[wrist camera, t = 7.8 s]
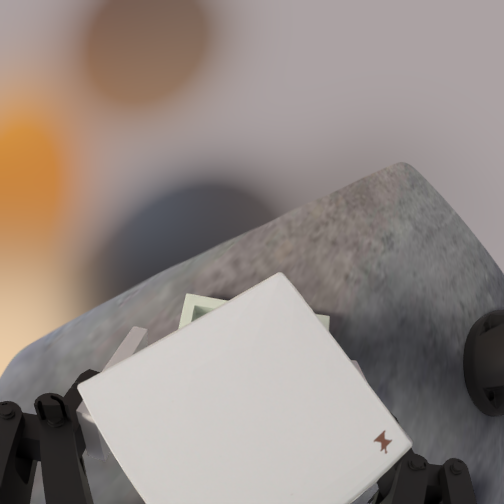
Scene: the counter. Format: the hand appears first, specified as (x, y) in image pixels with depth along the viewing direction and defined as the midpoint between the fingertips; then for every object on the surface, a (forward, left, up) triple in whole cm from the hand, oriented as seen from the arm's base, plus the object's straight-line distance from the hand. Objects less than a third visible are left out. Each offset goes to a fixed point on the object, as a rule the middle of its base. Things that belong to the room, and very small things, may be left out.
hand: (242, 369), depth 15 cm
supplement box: (0, +3, -5) cm, 6 cm away
